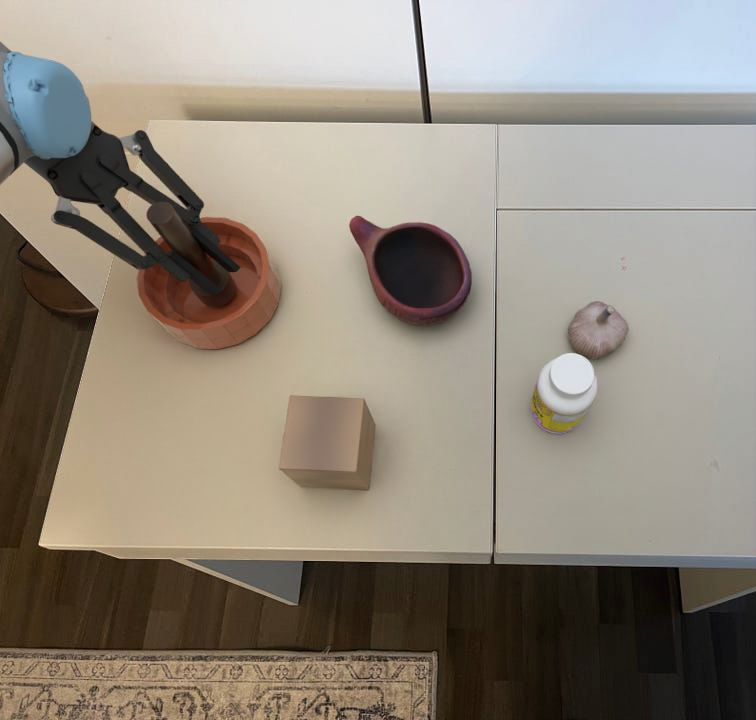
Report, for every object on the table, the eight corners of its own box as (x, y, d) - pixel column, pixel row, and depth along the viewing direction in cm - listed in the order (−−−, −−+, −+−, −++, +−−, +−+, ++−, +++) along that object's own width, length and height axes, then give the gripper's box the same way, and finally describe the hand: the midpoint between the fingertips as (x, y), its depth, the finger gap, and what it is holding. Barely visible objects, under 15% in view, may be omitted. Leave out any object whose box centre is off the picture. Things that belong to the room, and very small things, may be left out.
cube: (300, 487, 77) (278, 468, 67) (309, 421, 80) (289, 395, 70) (369, 490, 77) (356, 472, 67) (375, 424, 80) (364, 398, 70)
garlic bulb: (624, 314, 86) (639, 285, 79) (623, 366, 83) (639, 341, 76) (567, 309, 86) (576, 279, 79) (564, 360, 83) (574, 334, 76)
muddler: (208, 313, 82) (147, 240, 67) (191, 285, 84) (128, 207, 68) (242, 294, 83) (191, 218, 68) (225, 267, 85) (171, 185, 69)
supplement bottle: (530, 382, 82) (541, 341, 70) (582, 385, 82) (603, 344, 70) (529, 434, 80) (541, 401, 68) (583, 436, 80) (605, 404, 68)
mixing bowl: (192, 373, 82) (170, 353, 76) (140, 281, 86) (116, 256, 80) (303, 310, 85) (291, 287, 79) (248, 225, 90) (232, 197, 84)
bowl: (477, 255, 89) (478, 221, 82) (465, 341, 84) (465, 313, 77) (359, 242, 89) (350, 207, 82) (341, 327, 84) (330, 298, 77)
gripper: (86, 79, 70) (255, 234, 83) (-28, 184, 65) (172, 332, 78) (98, 59, 64) (278, 229, 77) (-26, 173, 59) (190, 335, 72)
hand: (225, 280), depth 77 cm, fingers closed on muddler, 3 cm apart
